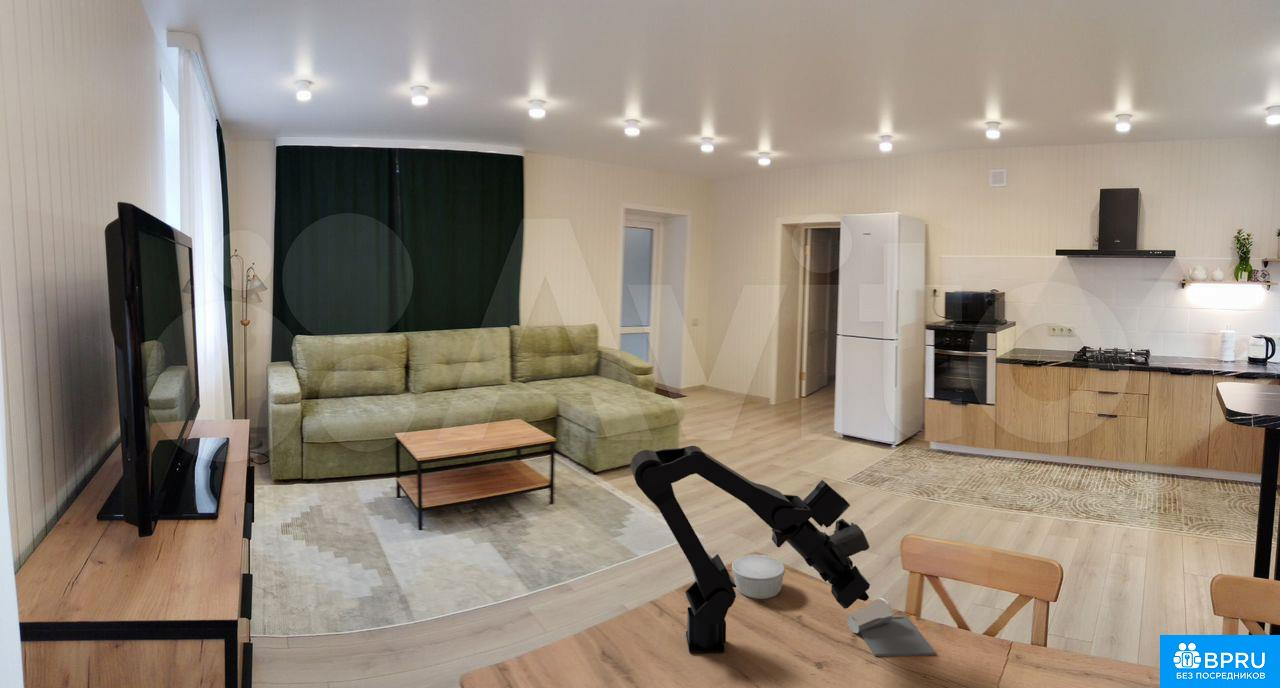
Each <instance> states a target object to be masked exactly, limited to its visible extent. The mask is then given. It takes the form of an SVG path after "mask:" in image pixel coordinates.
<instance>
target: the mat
mask: <svg viewBox="0 0 1280 688" xmlns="http://www.w3.org/2000/svg"><path fill="white" fill-rule="evenodd" d="M902 617H904V618H903V619H893V620H892V621H891V622H888V623H885V624H882V625H879V626H876V627H874V628H871V629H868V630H866V631H863V632H860V633H859V634H860V635H861V637H862V638H863V640H864V642H865V643H866V645H867V646H868V647H869V649H870V651H871V653H872V654H873V656H874V657H900V656H901V657H906V656H910V657H911V656H936V651H935V650H934V649H933V647H932V646H931V645H930V644H929V642H928V641H927V640H926V638H925V637H924V636H923V635H922V633H921V632H920V631H919V629H918V628H917V627H916V626H915V624H914V623H913V622H912V621H911V619H910V618H909V617H908V616H902Z"/></svg>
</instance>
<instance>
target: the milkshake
mask: <svg viewBox="0 0 1280 688" xmlns="http://www.w3.org/2000/svg"><path fill="white" fill-rule="evenodd" d="M894 615H895V613H894V608H893V607H892V604H891V603H890V601H888V600H886V599H885V598H883V597H878V598H876V599H875V600H873V601H872V602H870V603H869V604H867V605H865V606H863V607H861V608H860V609H858V610H857V611H855V612H853V613H851V614H849V615H848V616H847V618H846V624H847V627H848V628H849V630H850V631H851V632H852V633H853V634H860V632H863V631H866V630H868V629H871V628H874V627H876V626H879V625H882V624H885V623H888V622H891V621H892V620H893V619H903V618H904V617H903V616H894Z"/></svg>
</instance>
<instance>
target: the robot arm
mask: <svg viewBox="0 0 1280 688" xmlns="http://www.w3.org/2000/svg"><path fill="white" fill-rule="evenodd" d="M629 464H630V466H629V467H630V471H631V474H632V476H633V478H634V481H635V484H636V485H637V487H638V488H639V489H640V491H641V492H642V493H643V494H644V495H645V496H646V498H648V500H649V501H650V502H652V504H654V505H655V507H656V508H657V509H658V510H659V512H660V514H661V515H662V518H663V519H664V521H665V523H666V524H667V526H668V527H669V530H670V531H671V534H673V536H674V538H675V541H676V542H677V543H678V545H679V547H680V549H681V551H682V553H683V554H684V555H685V557H686V560H687V561H688V563H689V564H690V566H691V567H690V568H691V570H692V573H693V577H694V580H695V581H694V582H693V583H692V584H691V585H690V586H689V587H688V588H687V589H686V590H685V591H684V592H685V596H686V599H687V601H688V603H689V605H690V607H689V606H688V607H687V619H686V621H687V625H686V626H687V630H686V632H685V636H686V641H687V642H686V644H687V648H688V649H687V650H688V653H690V654H701V653H702V654H703V653H704V654H705V653H706V654H707V653H711V654H713V653H725V646H724V645H725V644H726V642H727V622H726V616H727V613H728V612H729V609H730V608H731V607H732V606H733V604H734V603H735V600H736V598H737V594H736V591H735V589H734V588H737V587H736V584H735V580H734V579H733V578H732V575H731V574H730V572H729V571H728V569H727V567H726V565H725V563H724V562H723V560H722V558H721V557H720V555H719V554H718V553H717V554H716V555H714V556H713V557H711V555H710V554H709V553H708V552H707V551H706V550H705V547H704V545H703V544H702V542H701V540H700V539H699V537H698V536H697V533H696V531H695V530H694V527H693V526H692V524H691V523H690V521H689V519H688V517H687V515H686V514H685V512H684V510H683V509H682V506H681V504H680V503H679V502H678V499H677V498H676V495H675V492H674V488H673V483H677V482H679V481H682V480H683V479H685V478H687V477H689V476H692V475H698V476H700V477H701V478H703V479H705V480H706V481H708V482H709V483H711V484H713V485H714V486H715V487H718V488H719V489H721V490H722V491H724V492H726V494H727V493H728V494H729V495H731V496H732V497H733V498H735V499H737V500H739V501H741V503H743V504H745V505H746V506H747V507H749V508H750V509H751V510H752V511H753V512H754V513H755V514H756V515H757V516H758V517H759V518H760V519H761V520H762V521H763V522H764V523H765V524H766V525H767V526H768V527H770V528H771V532H772V535H771V541H772V542H773V543H774V544H775V546H776V547H777V548H780V547H781V546H783V544H785V543H787V544H789V545H790V547H792V548H793V549H794V551H796V552H797V553H798V554H799V555H800V556H801V557H802V558H803V559H804V561H805V563H806V564H807V566H809V567H810V568H813V569H814V570H815V572H817V573H818V574H819V575H820V577H821V579H822V580H824V582H827V583H828V584H830V585H831V587H830V588H831V589H830V590H831V591H830V593H831V594H832V595H833V598H834V599H835V601H836V602H837V604H839V605H840V606H841V608H843V609H844V610H845V609H849V608H850V607H851V606H852V605H853V604H854V603H855V602H856V601H857V600H859V601H862V602H867V601H868V600H869V599H870V596H869V594H868V593H867V591H868V590H869V589H870V587H871V584H870V582H869V581H868V580H867V579H866V577H865V576H864V574H862V573H861V571H860V569H859V568H858V567H857V566H856V565H853V564H854V563H853V561H852V559H851V557H852V556H854V555H857V554H858V553H860V552H866V551H867V550H869V549H870V544H869V541H868V539H867V537H866V535H865V532H864V531H863V530H862V528H861V527H860V526H859V525H858V524H856V523H854V522H851V523H849V522H848V521H846V520H845V519H844V518H841V519H840V517H841V516H842V515H843V514H844V512H846V511H847V510H848V509H849V508H850V507H851V504H850V503H849V502H848V501H847V500H846V498H844V497H843V496H842V495H841V494H839V493H838V492H837V491H836V490H835V489H834V488H833V487H831V486H830V485H829V484H828V483H827V482H825V481H824V480H823V479H822V480H820V481H819V482H818V484H816V486H815V488H814V489H813V490H812V491H811V492H810V493H809V494H808V495H807V496H806V497H805V498H804V499H802V498H801V497H800V496H798V495H791V494H783V493H782V492H781V490H778V489H775V488H773V487H770V486H767V485H765V484H761V483H758V482H757V483H756V482H754V481H751V480H749V479H748V478H746V477H745V476H743V475H741V474H740V473H738V472H737V471H735V470H733V469H732V468H730V467H729V466H727V465H725V464H723V463H722V462H720V461H719V460H717V459H716V458H715V457H713V456H711V455H710V454H708V453H706V452H705V451H703V450H702V449H701V448H700V446H696V445H689V446H685V447H681V448H679V447H678V448H665V449H664V448H663V449H659V450H655V451H654V450H649V449H643V450H640V451H638V452H637V453H635V454H634V455H633V457H632V459H631V461H630V463H629ZM811 518H812V519H813V521H814V522H815V523H817V525H818V526H820V527H821V528H822V527H823V526H824V527H825V528H826V529H828V528H829V527H831V526H832V525H833V524H834V523H835V529H834V530H833V534H831V535H828V534H827V532H825V531H821V530H819V529H818V527H816V526H815V525H814V524H813V522H811V520H810V519H811Z"/></svg>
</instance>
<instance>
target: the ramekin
mask: <svg viewBox="0 0 1280 688" xmlns="http://www.w3.org/2000/svg"><path fill="white" fill-rule="evenodd" d="M785 569H786V567H785V565H784V564H783V563H782V561H780V560H778V559H777V558H774V557H772V556H768V555H765V554H764V555H762V554H747V555H743V556H740V557H738V558H736V559H735V560H734V561H733V562H732V564H731V571H732V573H733V578H734V579H733V581H734V583H735V584H736V587H735V588H736V589H737V590H738V591H739V593H740V594H742V595H743V596H746V597H748V598H751V599H755V600H756V599H758V600H765V599H770V598H773V597H775V596H776V595H778V594H779V593H780V591H781V589H782V585H783V580H784V576H785V573H786V570H785Z"/></svg>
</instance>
